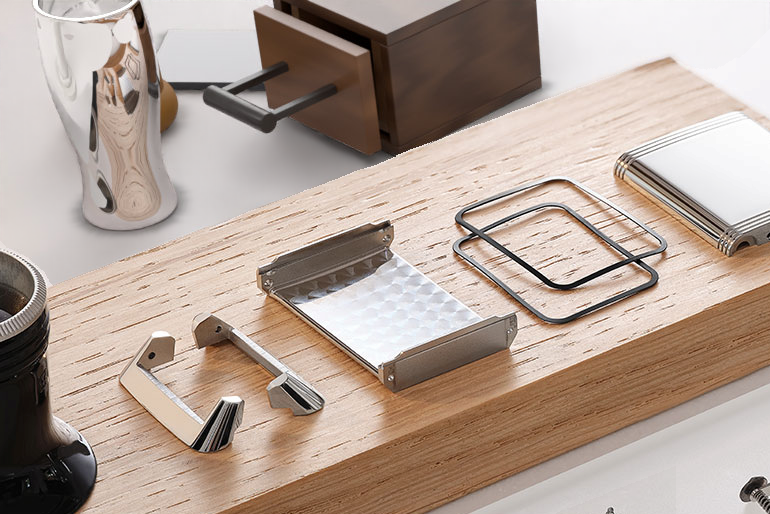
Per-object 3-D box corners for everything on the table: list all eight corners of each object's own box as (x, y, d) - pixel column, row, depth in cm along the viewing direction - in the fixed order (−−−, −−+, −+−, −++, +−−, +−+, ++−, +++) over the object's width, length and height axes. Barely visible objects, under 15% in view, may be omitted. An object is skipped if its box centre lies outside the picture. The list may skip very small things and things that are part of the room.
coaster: (315, 37, 158) (314, 30, 158) (295, 90, 152) (294, 83, 151) (169, 36, 158) (168, 29, 158) (143, 89, 152) (141, 82, 151)
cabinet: (400, 159, 144) (386, 34, 138) (288, 105, 150) (269, -17, 144) (542, 86, 152) (534, -34, 146) (430, 38, 158) (418, -79, 152)
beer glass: (98, 246, 135) (50, 31, 126) (61, 199, 140) (12, -11, 130) (200, 215, 138) (161, 3, 129) (161, 170, 143) (120, -38, 133)
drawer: (292, 194, 138) (276, 93, 134) (190, 143, 144) (172, 44, 139) (502, 89, 150) (494, -8, 145) (401, 45, 155) (390, -50, 150)
